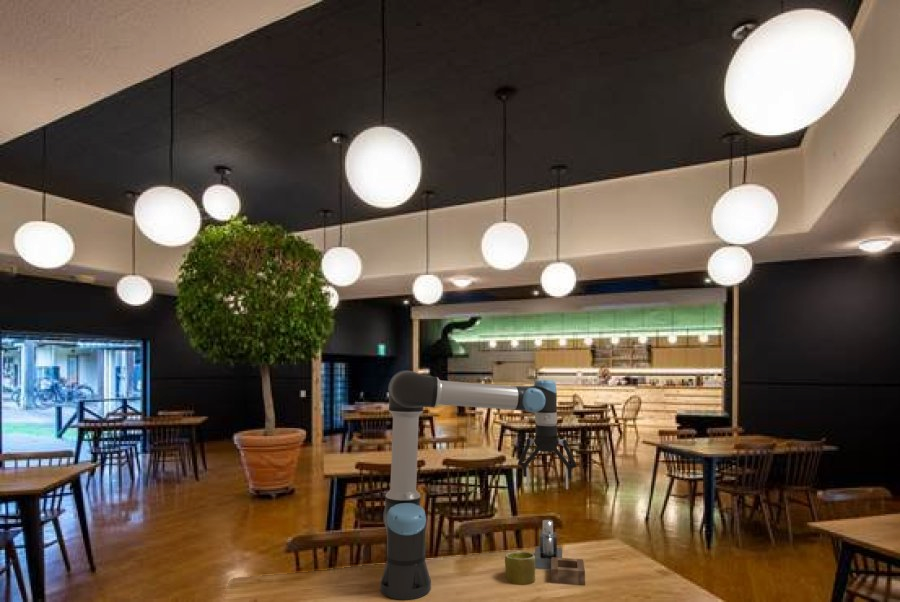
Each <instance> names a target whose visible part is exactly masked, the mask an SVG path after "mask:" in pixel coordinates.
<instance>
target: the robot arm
mask: <svg viewBox="0 0 900 602" xmlns="http://www.w3.org/2000/svg"><path fill="white" fill-rule="evenodd" d="M387 391H388V395H389V397H388V412H389V413H390V414H391V416H392V436H391V438H392V439H391V462H390V464H391V465H390V484H389V485H390V489H389V490H388V491H387V492H386V494H385V497H384V499H385V501H384V509H383V515H382V517H383V520H382V521H383V524H384V527H385V531H386V563H385V566H384V570H383V573H382V576H381V580H380V593H381V594H382V595H383V596H385V597H387V598H390V599H394V600H403V601H404V600H405V601H406V600H414V599H418V598H422V597H424V596H426V595H428V593H430V592H431V589H432V579H431V575H430V573H429V570H428V566H427V563H426V524H427V517H426V511H425V509H424V508H423V507H422V506H421V498H422V497H421V493H420V492H419V491H418V490H417V480H418V479H417V475H418V452H419V451H418V449H419V447H418V446H419V445H418V443H419V442H418V441H419V418H420V415H422V414H423V412H424V408H436V407H438V406H440V405H442V406H443V405H444V406H456V407H469V408H470V407H471V408H483V409H496V410H510V411H511V410H512V411H521V412H522V411H524V412H528V413H534V416H535V417H534V418H535V421H534V423H535V424H536V425H535V437H534V438H531V437H527V438H526V442H525V444H526V445H525V446H524V448H523V451H522V452H521V453H522V454H521V455H520V457H519V460H518V462H517V465H518V466H520V467H522V469H523V471H522V473H523V475H522V476H523V477H524V478H526V488H530V466H528V465H529V464H530V463H531V462H532V460H533V459H534V458H535V457H536V456H537V454H538V453H539V452H542V453H546V452H547V453H552V452H554V453H555V455H556V456H557V458H559V459H560V461H561V462H562V464H564V466H565V471H564V472H565V489H566V490H568V489H569V479H572V469H574V468H575V469H576V468H577V463H576V461H575V458H574V457H573V455H572V453H571V450H570V449H569V446H568V442H567V439H566V438H563V439H559V438H558V426H557V425H558V424H557V423H558V411H557V409H558V408H557V404H558V401H557V398H558V397H557V396H558V395H557V394H558V393H557V392H558V391H557V383H556V381H554V380H553V379H552V380H551V379H537V380H534V385H501V384H488V383H487V384H486V383H477V382H462V381H453V380H452V381H451V380H441V379H439V377H438V376H431V375H425V374H421V373H418V372H416V371H412V370H408V369H407V370H400V371H398V372H396V373H395V374H394V375H393V376H392V377H391V379H390V381H389V383H388V390H387ZM533 443H534V444H535V446H536V448H535V449H534V450H533V451H532V453H530V454H529V456H528V457H527V459H526V460H525V457H526V456H527V454H528V450H529V449H530V446H532V445H533ZM559 444H560V445H561V446H562V447H563V449H564V450H565V454H566V455H567V457H568V459H569V461H570V462H569V461H568V459H566V458H565V456H564V455H563V454H562V453H561V451H560V450H559V449H558V447H557V446H558V445H559ZM524 460H525V461H524ZM570 463H571V464H570Z"/></svg>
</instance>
